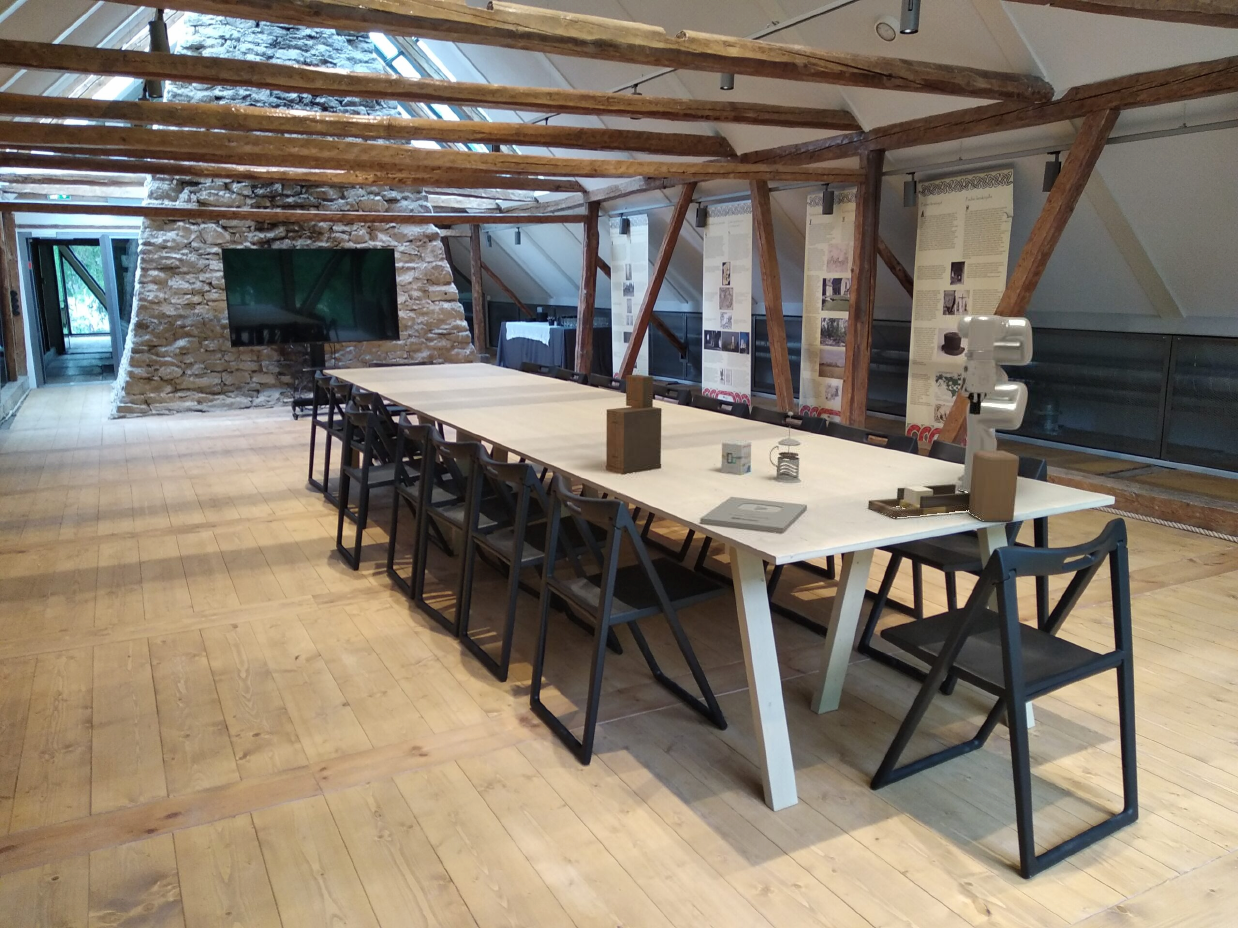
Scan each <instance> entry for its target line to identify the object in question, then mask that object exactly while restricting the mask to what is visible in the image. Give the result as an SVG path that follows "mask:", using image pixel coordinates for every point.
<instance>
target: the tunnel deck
mask: <svg viewBox="0 0 1238 928" xmlns="http://www.w3.org/2000/svg"><path fill="white" fill-rule="evenodd" d="M922 486H923V487H926V488H929V489H932V490H933V495H929V496H920V505H913V504H910V503H908V502H905V501H904V489H905V487H897V489H896V490H897V491H896V497H895V498H884V499H872V500H871V499H870V500H868V503H867V505H868V506H867V507H868V509H869V508H871V509H873V510H872V511H874V510H876V511H878V512H877V513H879V512H880V513H879V514H881V513H883V514H886V515H888V516H892V517H895V518H897V517H907V516H920V515H927V514H937V513H949V512H955V511H966V510H967V511H968V510H969V499H970V492H968V493H965V492H960V493H959V492H957V491H956V488H957V484H953V483H949V484H934V485H922ZM896 506H900V507H903V508H905V509H902V508H893V507H896ZM871 509H870V510H871ZM876 511H875V512H876ZM883 514H882V515H883ZM886 515H885V516H886ZM888 516H887V517H888Z"/></svg>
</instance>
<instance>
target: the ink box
mask: <svg viewBox="0 0 1238 928" xmlns="http://www.w3.org/2000/svg"><path fill="white" fill-rule="evenodd" d="M751 464H752V441H746V440H735V439H731V440H726V441H724V442H722V443H721V471H720V473H722V474H729V475H737V476H742V475H745V474H748V473H750V472H751V470H752V467H751Z"/></svg>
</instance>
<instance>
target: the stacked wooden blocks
mask: <svg viewBox="0 0 1238 928" xmlns="http://www.w3.org/2000/svg"><path fill="white" fill-rule="evenodd" d="M625 380H626V381H625V383H626V384H625V388H626V389H625V406H626V407H617V408H608V409H606V446H605V447H606V452H605V453H606V454H605V455H606V458H605V459H606V463H605V464H606V465H605V470H606V471H608V472H611V473H615V472H616V473H615V474H619V473H620V475H627V473H629V474H633V472H635V473H641V472H647V471H652V470H657V469H659V470H660V469H662V460H661V459H662V407H655V406H653V404H654V403H653V402H654V399H653V397H654V395H653V394H654V376H649V375H643V374H641V375H640V374H629V375H626V376H625Z"/></svg>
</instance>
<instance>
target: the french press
mask: <svg viewBox="0 0 1238 928" xmlns="http://www.w3.org/2000/svg"><path fill="white" fill-rule="evenodd" d="M793 415H794V413H793V412H792V411H788V412H787V416H789V419H791V416H793ZM790 436H791V427H789V432H788V438H783V439H781V440H779V441H778V442H777V444H778V445H780V446H786V447H787V446H788V447H795V446H796V447H797V446H800V445H801V442H800V441H799V440H797V439H795V438H791V437H790ZM778 445H776V446H773V447H772V449H770V451H769V461H770V463H771V465H772V466H774V467H776V477H775V478H774V479H773V480H775V481H774V482H776V483H781V482H782V483H784V484H797V483H801V482H802V480H801V478H800V477H799V475H800V472H799V471H800V457H799V453H797V452H793V451H792V452H791V451H790V449H788V451H783V452H782V451H781V452H779V453H778V455H779V456H777V464H775V463H774V462H773V460H772V458H771V457H772V456H771V455H772V454H771V453H772V451H774V450H775V449H779V446H778ZM794 470H795V471H794Z"/></svg>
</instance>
